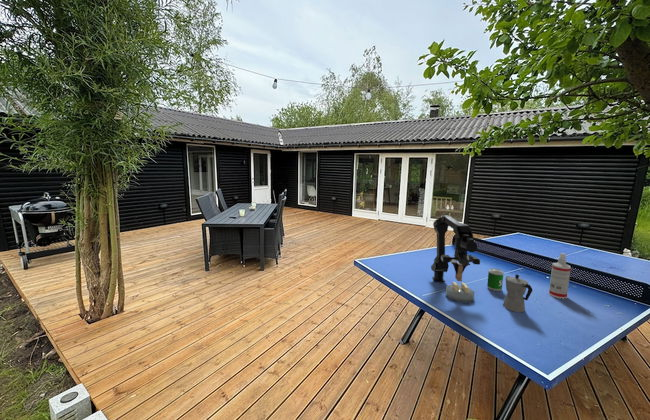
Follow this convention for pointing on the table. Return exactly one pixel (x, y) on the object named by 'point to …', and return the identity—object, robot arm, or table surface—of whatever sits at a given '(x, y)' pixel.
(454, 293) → the blue-grey bowl
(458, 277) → the tall brown wooden block
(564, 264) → the white squeeze bottle
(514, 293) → the coffeepot
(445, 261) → the robot arm
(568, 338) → the table surface
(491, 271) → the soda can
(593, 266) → the table surface
